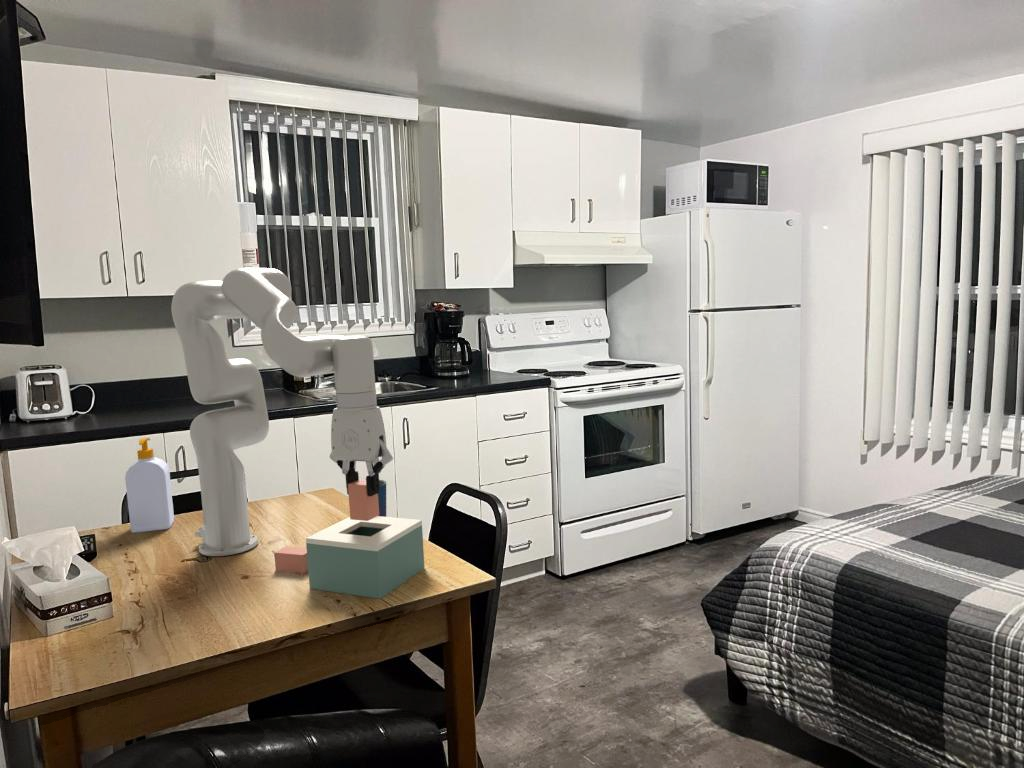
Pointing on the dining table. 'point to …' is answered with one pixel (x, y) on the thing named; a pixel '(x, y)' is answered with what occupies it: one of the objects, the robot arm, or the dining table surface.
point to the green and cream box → (365, 555)
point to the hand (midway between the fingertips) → (363, 492)
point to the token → (291, 559)
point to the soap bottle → (149, 492)
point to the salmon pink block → (362, 501)
